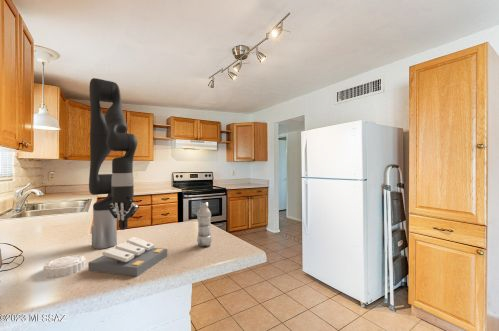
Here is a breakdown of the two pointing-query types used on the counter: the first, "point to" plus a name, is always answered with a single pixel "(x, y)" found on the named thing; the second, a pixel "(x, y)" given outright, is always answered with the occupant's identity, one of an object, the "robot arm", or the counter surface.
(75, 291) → the counter surface
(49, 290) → the counter surface
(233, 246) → the counter surface
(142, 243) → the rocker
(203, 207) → the plastic bottle
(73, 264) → the mooncake
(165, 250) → the switch console
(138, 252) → the plate
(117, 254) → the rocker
